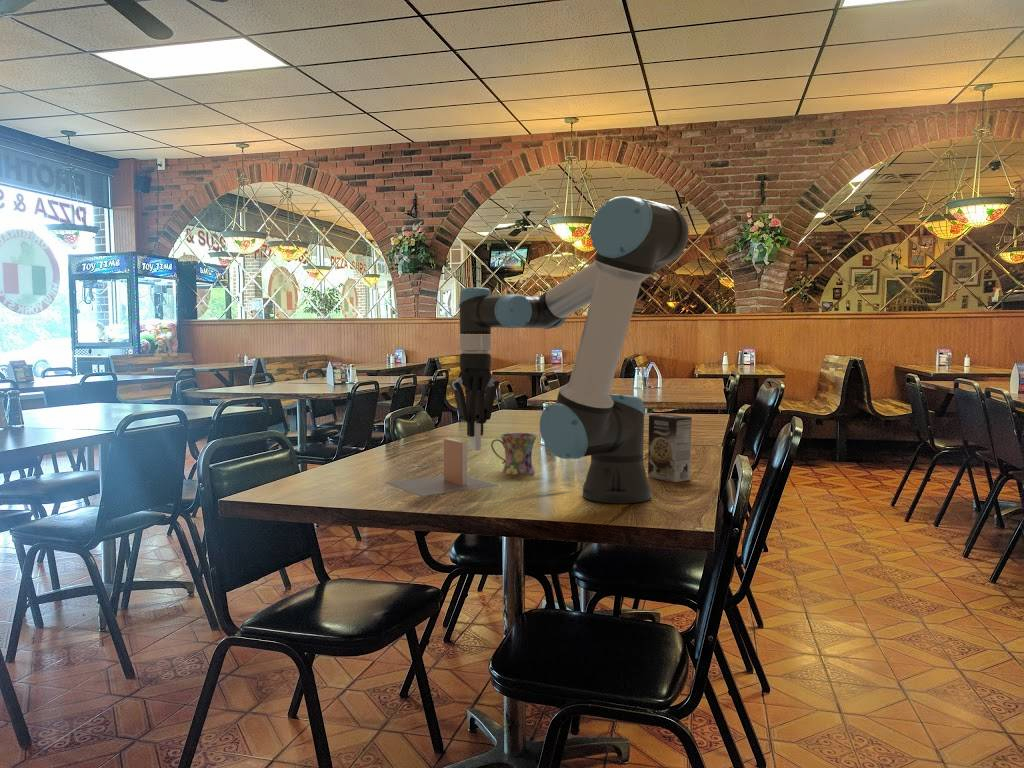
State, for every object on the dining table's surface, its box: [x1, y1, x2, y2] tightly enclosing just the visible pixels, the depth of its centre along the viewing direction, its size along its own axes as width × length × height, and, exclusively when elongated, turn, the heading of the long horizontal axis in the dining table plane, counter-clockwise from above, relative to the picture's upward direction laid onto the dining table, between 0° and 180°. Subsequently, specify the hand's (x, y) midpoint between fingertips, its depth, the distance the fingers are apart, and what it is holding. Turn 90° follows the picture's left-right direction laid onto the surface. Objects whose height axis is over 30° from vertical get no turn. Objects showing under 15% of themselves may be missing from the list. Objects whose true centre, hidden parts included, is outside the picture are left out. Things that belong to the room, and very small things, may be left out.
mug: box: [490, 432, 537, 476], centre depth 189 cm, size 12×9×11 cm
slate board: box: [386, 474, 498, 497], centre depth 172 cm, size 18×20×1 cm
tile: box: [443, 437, 468, 485], centre depth 174 cm, size 8×2×10 cm, turn 36°
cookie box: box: [647, 413, 693, 483], centre depth 186 cm, size 9×6×16 cm
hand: (475, 449), depth 178 cm, fingers closed
